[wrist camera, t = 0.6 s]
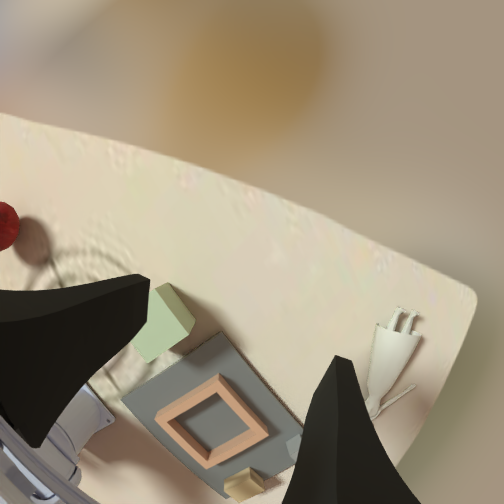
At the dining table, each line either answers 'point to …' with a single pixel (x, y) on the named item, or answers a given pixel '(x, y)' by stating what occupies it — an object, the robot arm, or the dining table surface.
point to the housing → (217, 415)
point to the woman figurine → (389, 360)
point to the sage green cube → (163, 323)
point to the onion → (8, 226)
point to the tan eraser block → (244, 485)
